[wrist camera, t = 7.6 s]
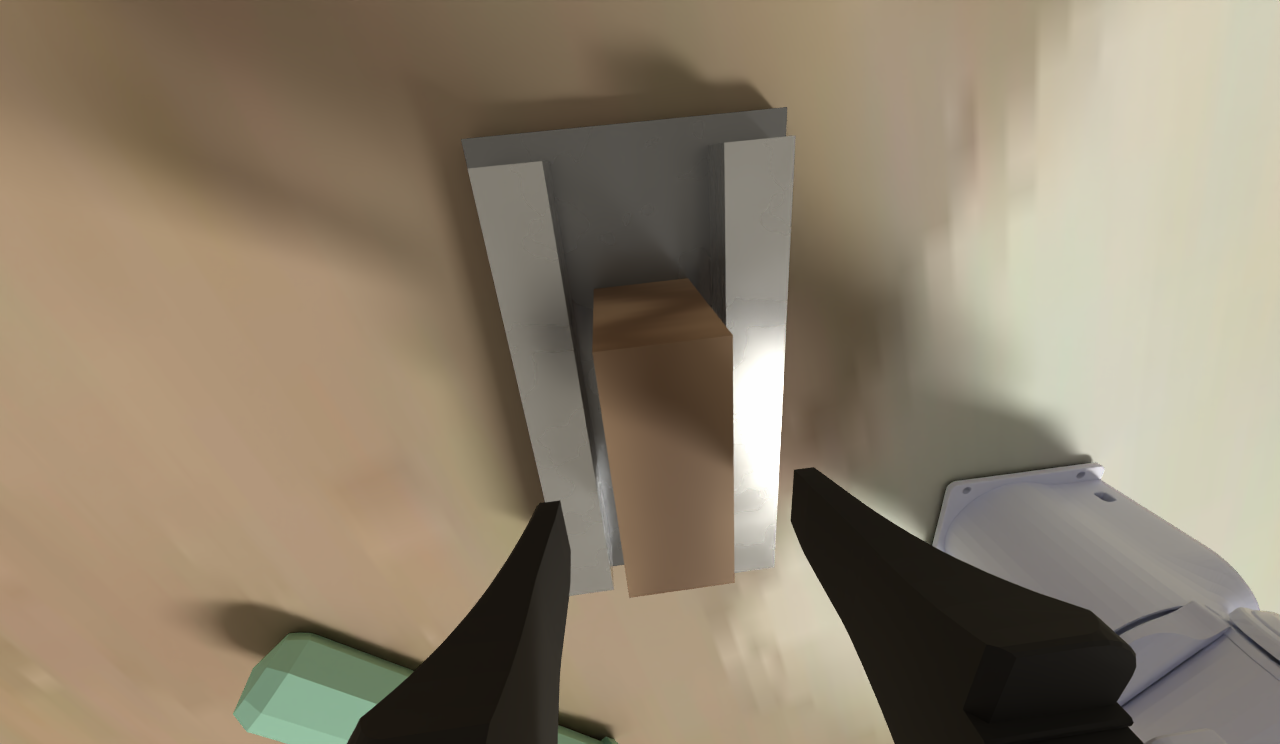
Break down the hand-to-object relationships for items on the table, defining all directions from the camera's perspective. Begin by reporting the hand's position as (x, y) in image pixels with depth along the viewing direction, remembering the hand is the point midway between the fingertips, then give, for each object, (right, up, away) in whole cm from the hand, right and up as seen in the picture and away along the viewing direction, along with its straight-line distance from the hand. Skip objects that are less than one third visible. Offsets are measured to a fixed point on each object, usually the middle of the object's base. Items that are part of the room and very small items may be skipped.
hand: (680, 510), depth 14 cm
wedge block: (-1, +3, +7) cm, 8 cm away
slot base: (-1, +4, +8) cm, 9 cm away
